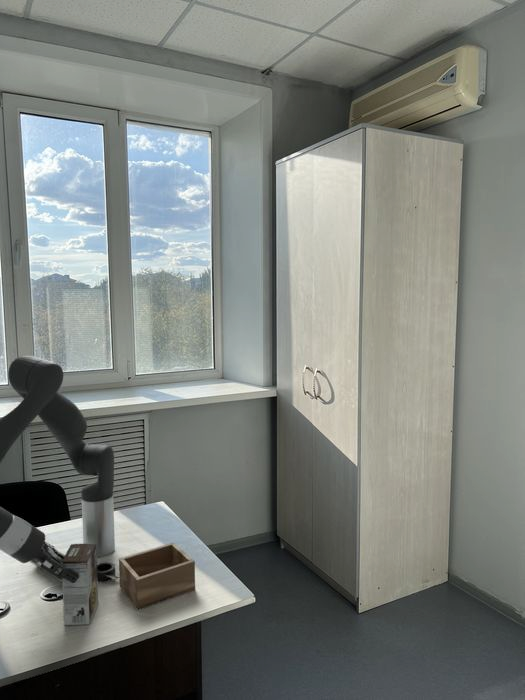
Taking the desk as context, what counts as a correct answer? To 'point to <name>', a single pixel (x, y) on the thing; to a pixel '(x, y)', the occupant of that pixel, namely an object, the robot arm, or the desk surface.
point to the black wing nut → (106, 572)
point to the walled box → (156, 575)
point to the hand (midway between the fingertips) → (71, 571)
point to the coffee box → (80, 585)
